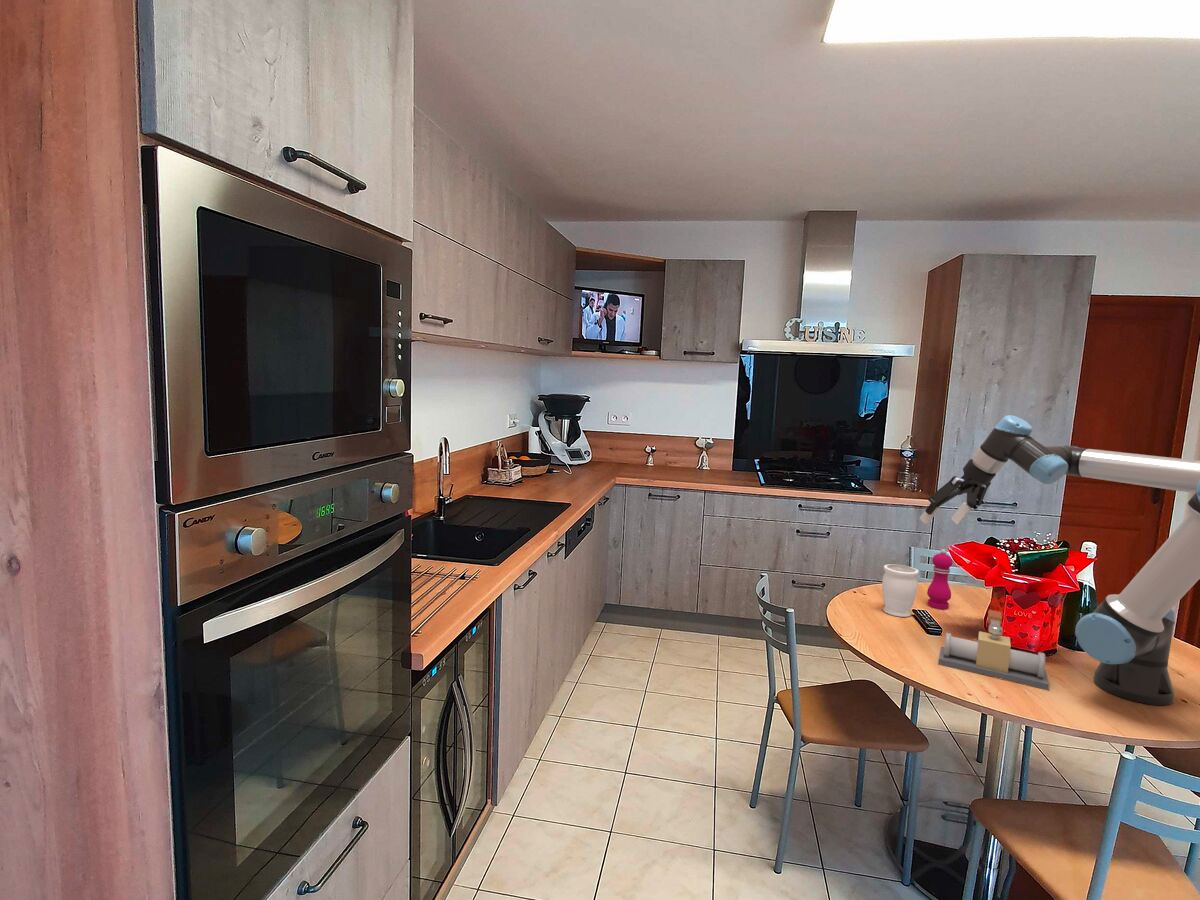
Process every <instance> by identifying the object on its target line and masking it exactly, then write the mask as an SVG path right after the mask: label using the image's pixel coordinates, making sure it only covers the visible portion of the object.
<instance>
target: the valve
mask: <svg viewBox="0 0 1200 900" xmlns="http://www.w3.org/2000/svg"><path fill="white" fill-rule="evenodd" d="M1011 647H1012V646H1011V637H1009V636H1004V635H995V634H992V633H989V632H984V631H978V637H977V641H974V640H970V639H966V638H961V637H956V636H952V633H950V632H949V633H948V632H945V640H944V646H943V645H942V646H940V650H939V655H938V665H939V666H945V667H949V668H952V669H956V668H957V669H958V670H960V669H961V671H965V672H969V673H973V674H977V673H978V674H979V675H982V674H984V675H983V676H986V675H988V676H987V677H990V676H993V677H992V678H994V677H997V678H996V679H999V678H1002V679H1001V680H1003V679H1006V680H1005V681H1007V680H1011V681H1014V682H1013V683H1016V682H1018V683H1017V684H1020V683H1022V684H1021V685H1024V684H1026V685H1025V686H1028V685H1029V687H1033V688H1038V689H1042V690H1046V691H1049V688H1050V687H1049V686H1050V684H1049V678H1048V675H1047V670H1046V654H1045V652H1041V651H1040V652H1039V651H1038V653H1037V654H1035V653H1031V652H1028V651H1027V652H1026V651H1021V650H1018V649H1017V650H1016V649H1012V648H1011ZM957 669H956V670H957ZM1011 681H1010V682H1011Z"/></svg>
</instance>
